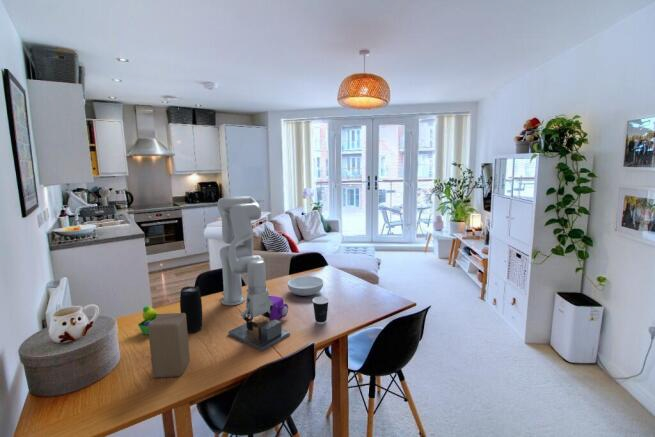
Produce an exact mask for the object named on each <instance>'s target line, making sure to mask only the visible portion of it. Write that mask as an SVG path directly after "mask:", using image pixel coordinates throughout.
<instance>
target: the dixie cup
mask: <svg viewBox="0 0 655 437" xmlns="http://www.w3.org/2000/svg"><path fill="white" fill-rule="evenodd" d="M329 301H330V298H328V297H326V296H315V297H313V298H312V304H313V313H314V319H315V324H317V325H324V324H326V323H327V319H328V310H329Z"/></svg>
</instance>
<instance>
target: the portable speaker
mask: <svg viewBox="0 0 655 437" xmlns="http://www.w3.org/2000/svg"><path fill="white" fill-rule="evenodd" d="M200 290H201V289H200V287H199V286H197V285H196V286H184V287H182V288H181V290H180V295H179V310H180V313H185V314H186V320H187V332H190V333H191V334H195V333H198V332H199V331H201V329H202V327H203V305H202V304H203V303H202V297H201V295H202V294H201V291H200Z"/></svg>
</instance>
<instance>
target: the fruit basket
mask: <svg viewBox="0 0 655 437" xmlns="http://www.w3.org/2000/svg"><path fill="white" fill-rule="evenodd" d="M159 314H160V313H157V311H156V310H155V309H154V308H153V307H151V306H149V305H145V306H144V307H143V309H142V317H143V319H144V320H142V321H141V322H139V323H138V324H137V325H138V327H139V328H140V331H141V333H142V335H146V334H149V330H148V327H149V325H150V323H151V322H152V321H153V320H154V319H155V318H156V317H157V316H158V315H159ZM144 333H145V334H144Z"/></svg>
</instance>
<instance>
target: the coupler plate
mask: <svg viewBox="0 0 655 437" xmlns="http://www.w3.org/2000/svg"><path fill="white" fill-rule="evenodd" d="M228 336H231V337H232V338H235V339H236V340H239V341H241V342H242V343H244V344H247V345H249V346H251V347H252V348H255V349H257V350H259V351H261V352H263V351H265V350H267V349H268V348H270V347H272V346H274V345H275V344H277V343H278V342H281V341H282V340H285V339H286V338H287V337H290V336H291V331H288V330H286V329H284V328H282V321H280V320H279V319H277V320H275V319H274V320H272V321H270V322H268V323H266V324H262V325H260V337H257V336H255V335H253V334H251V333H249V332H248V329H247V323H246V322H245V323H243V324H241V325H240V326H237V327H235V328H233V329H231V330H229V331H228Z"/></svg>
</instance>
